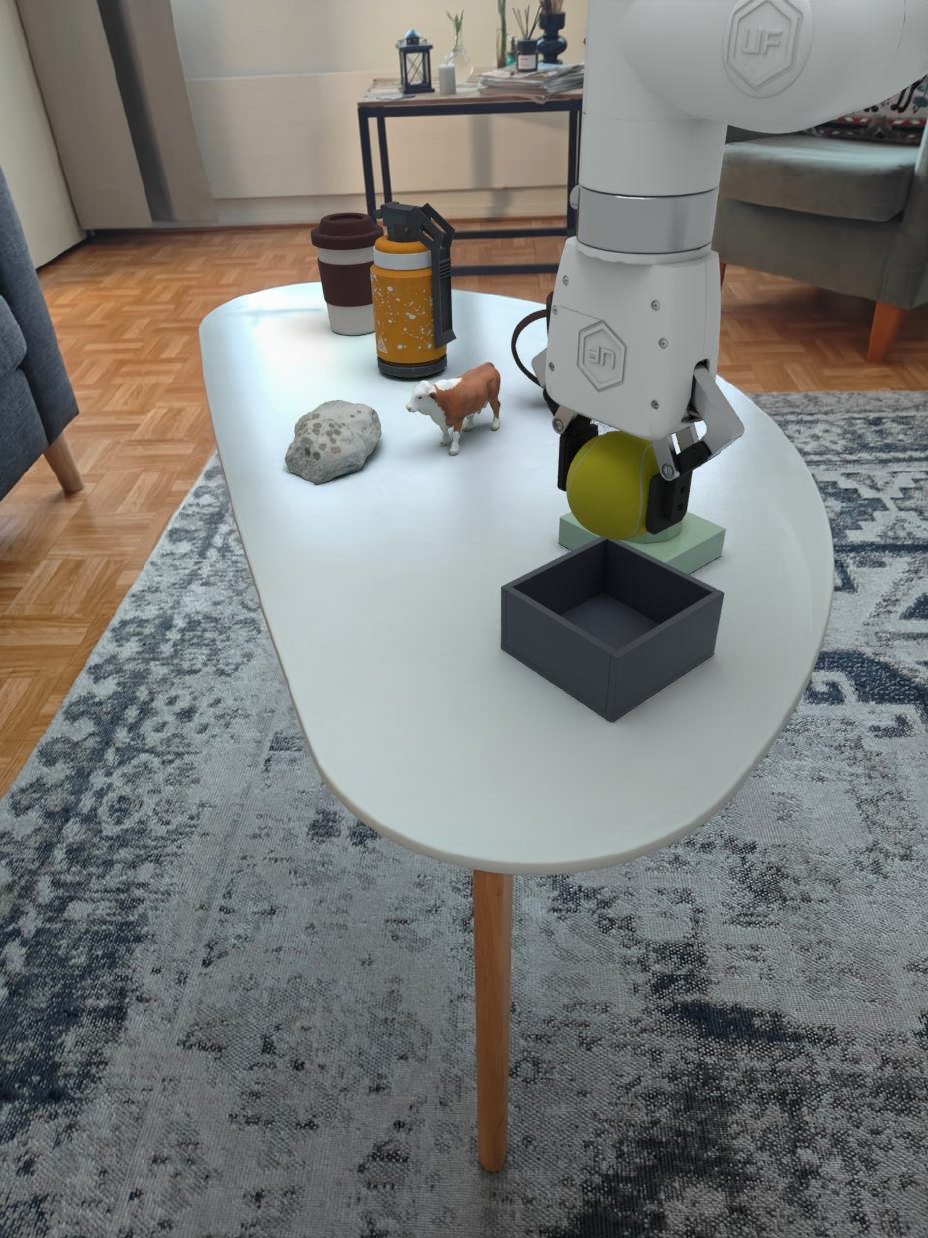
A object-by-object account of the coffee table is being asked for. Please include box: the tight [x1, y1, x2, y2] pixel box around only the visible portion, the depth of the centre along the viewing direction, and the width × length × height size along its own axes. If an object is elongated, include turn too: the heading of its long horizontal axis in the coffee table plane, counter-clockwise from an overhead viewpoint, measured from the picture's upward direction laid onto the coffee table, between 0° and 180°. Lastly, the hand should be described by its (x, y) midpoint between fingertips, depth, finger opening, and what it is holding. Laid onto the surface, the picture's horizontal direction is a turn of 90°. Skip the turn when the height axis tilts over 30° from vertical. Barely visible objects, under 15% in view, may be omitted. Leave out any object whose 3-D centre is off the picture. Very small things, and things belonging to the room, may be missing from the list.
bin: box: [500, 537, 725, 723], centre depth 66 cm, size 11×11×6 cm
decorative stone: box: [284, 399, 383, 485], centre depth 94 cm, size 12×11×5 cm
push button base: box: [558, 511, 727, 575], centre depth 78 cm, size 11×9×4 cm
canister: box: [370, 200, 457, 379], centre depth 110 cm, size 9×11×20 cm
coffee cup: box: [310, 212, 385, 336], centre depth 126 cm, size 10×10×15 cm
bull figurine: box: [405, 361, 502, 456], centre depth 96 cm, size 4×13×8 cm, turn 139°
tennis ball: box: [566, 430, 660, 540], centre depth 59 cm, size 7×7×7 cm
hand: (618, 502), depth 60 cm, fingers closed on tennis ball, 7 cm apart
